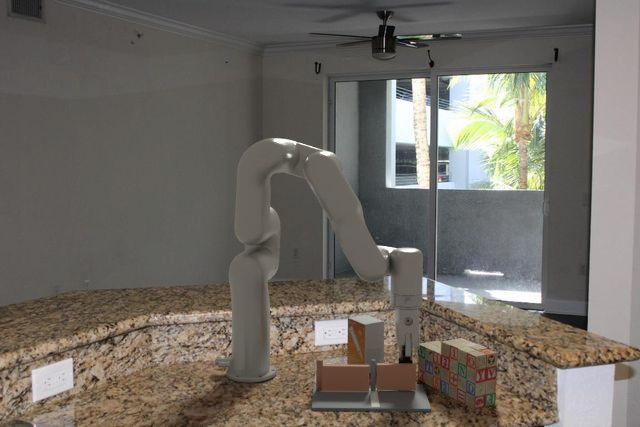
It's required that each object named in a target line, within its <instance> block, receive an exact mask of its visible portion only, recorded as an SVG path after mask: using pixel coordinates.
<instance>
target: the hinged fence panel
mask: <svg viewBox="0 0 640 427" xmlns="http://www.w3.org/2000/svg"><path fill="white" fill-rule="evenodd" d="M370 384H371V391H376V388H377V390H416V384H417V365H416V363H413V364H409V363H399V362H398V363H395V362H394V363H392V362H391V363H390V362H389V363H388V362H386V363H385V362H384V363H377V372H376V360H374V359H372V360H371V373H370ZM376 384H377V387H376Z"/></svg>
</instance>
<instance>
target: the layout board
mask: <svg viewBox="0 0 640 427" xmlns="http://www.w3.org/2000/svg"><path fill="white" fill-rule="evenodd" d="M376 387H377V383H376ZM428 399H429V398H428V397H427V393H426V390H425V388H424V385H423V384H420V383H419V384H418V383H416V390H377V388H376V391H371V383H369V391H316V382H315V383H313V387H312V399H311V411H329V412H330V411H333V412H334V411H338V412H340V411H341V412H342V411H343V412H344V411H345V412H346V411H348V412H352V411H353V412H355V411H356V412H432V407H431V404H430V402H429V400H428Z"/></svg>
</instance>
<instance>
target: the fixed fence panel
mask: <svg viewBox="0 0 640 427" xmlns="http://www.w3.org/2000/svg"><path fill="white" fill-rule="evenodd" d="M315 370H316V371H315V379H316V380H315V383H316V391H369V384H370V373H369V365H347V364H324V359H322V358H317V359H316V360H315Z"/></svg>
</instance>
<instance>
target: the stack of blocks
mask: <svg viewBox="0 0 640 427" xmlns="http://www.w3.org/2000/svg"><path fill="white" fill-rule="evenodd" d="M419 344H420V349H419V350H418V351H417V368H418V369H417V380H418V381H420V382H422V383H424V384H425V385H427V386H429V387H431V388H433V389H434V388H435V389H434V390H436V389H437V390H436V391H438V390H439V392H440V393H442V392H443V393H442V394H444V393H445V394H444V395H446V396H449V397H450V398H452V399H454V400H456V401H457V402H459V403H461V404H463V405H465V406H467V407H469V408H471V409H472V410H477V409H482V408H487V407H491V406H495V405H496V399H497V398H496V397H497V392H496V390H497V377H498V376H497V375H498V365H497V364H498V352H496V351H495V350H492V349H489V348H488V347H487V346H483V345H481V344H478V343H476V342H473V341H470V340H467V339H464V338H463V337H460V338H459V337H458V338H454V339H449V340H443V341H442V340H441V341H439V340H434V341H427V342H420V343H419Z"/></svg>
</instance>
